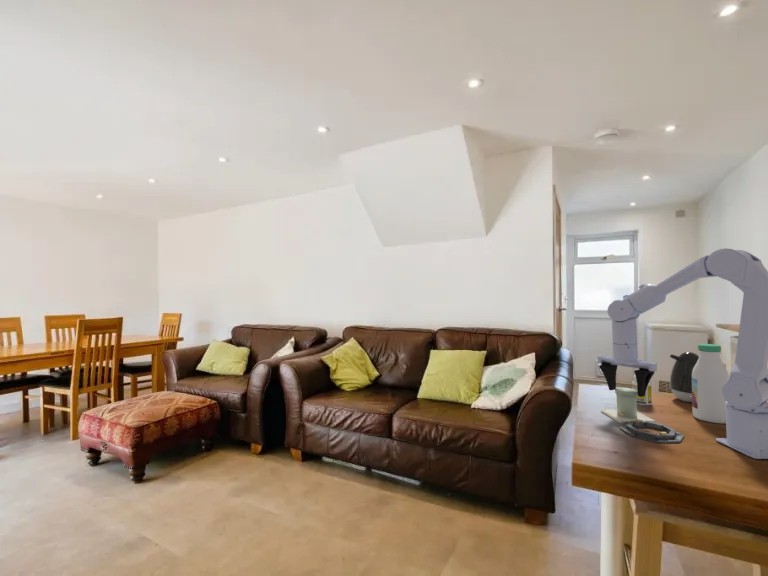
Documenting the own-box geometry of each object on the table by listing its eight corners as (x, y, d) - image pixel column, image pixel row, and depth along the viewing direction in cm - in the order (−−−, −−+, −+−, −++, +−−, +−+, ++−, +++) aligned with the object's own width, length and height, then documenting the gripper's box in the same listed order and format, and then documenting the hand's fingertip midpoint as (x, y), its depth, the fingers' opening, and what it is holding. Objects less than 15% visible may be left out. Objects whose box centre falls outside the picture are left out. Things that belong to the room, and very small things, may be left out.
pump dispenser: (662, 395, 119) (660, 349, 119) (698, 396, 118) (696, 349, 118) (682, 405, 109) (680, 354, 109) (721, 406, 107) (719, 355, 108)
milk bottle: (737, 421, 95) (735, 345, 96) (720, 426, 93) (718, 347, 93) (703, 412, 103) (701, 341, 103) (686, 416, 100) (684, 343, 100)
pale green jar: (631, 420, 96) (631, 394, 96) (611, 415, 101) (610, 389, 101) (642, 415, 99) (642, 390, 99) (622, 410, 104) (621, 386, 104)
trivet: (655, 422, 96) (655, 420, 96) (620, 423, 96) (620, 420, 96) (632, 411, 105) (632, 409, 105) (601, 411, 105) (601, 409, 105)
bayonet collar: (695, 442, 83) (695, 435, 83) (642, 443, 84) (642, 435, 84) (658, 423, 95) (658, 417, 95) (611, 423, 96) (611, 417, 96)
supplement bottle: (645, 401, 114) (644, 374, 114) (655, 405, 109) (654, 377, 109) (629, 400, 115) (628, 374, 115) (638, 405, 110) (637, 377, 110)
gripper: (662, 345, 96) (664, 396, 96) (607, 339, 109) (608, 385, 109) (647, 347, 93) (649, 401, 93) (592, 341, 106) (594, 388, 105)
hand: (626, 392), depth 100 cm, fingers open, 7 cm apart
